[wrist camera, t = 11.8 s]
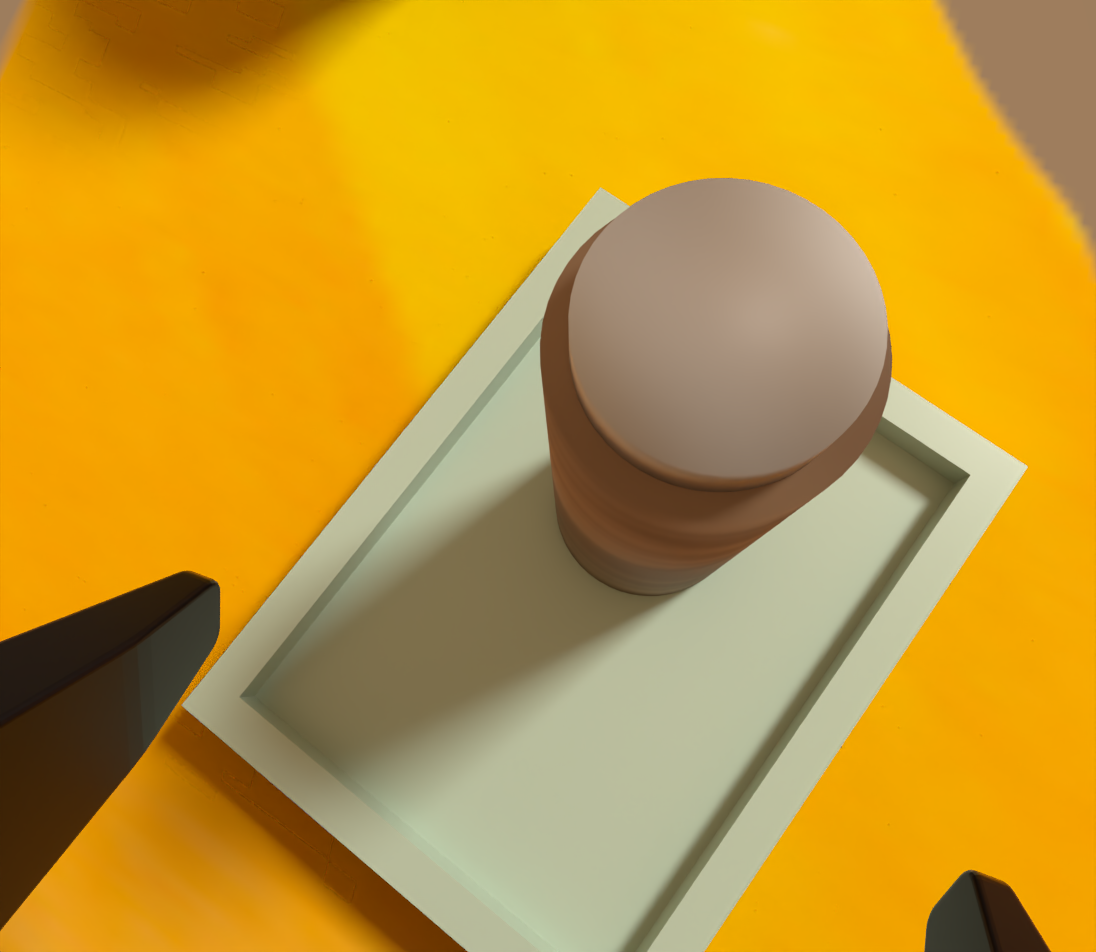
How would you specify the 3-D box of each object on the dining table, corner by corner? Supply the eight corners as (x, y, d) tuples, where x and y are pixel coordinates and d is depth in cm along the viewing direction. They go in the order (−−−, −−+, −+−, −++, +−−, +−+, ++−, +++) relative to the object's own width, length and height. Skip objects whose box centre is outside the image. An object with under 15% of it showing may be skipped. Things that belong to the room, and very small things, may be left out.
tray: (615, 1043, 21) (617, 1080, 19) (215, 702, 23) (181, 705, 21) (991, 483, 24) (1028, 466, 22) (599, 224, 26) (600, 187, 24)
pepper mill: (626, 633, 22) (685, 586, 10) (519, 479, 23) (464, 278, 11) (779, 526, 23) (1001, 365, 11) (668, 380, 24) (762, 87, 12)
